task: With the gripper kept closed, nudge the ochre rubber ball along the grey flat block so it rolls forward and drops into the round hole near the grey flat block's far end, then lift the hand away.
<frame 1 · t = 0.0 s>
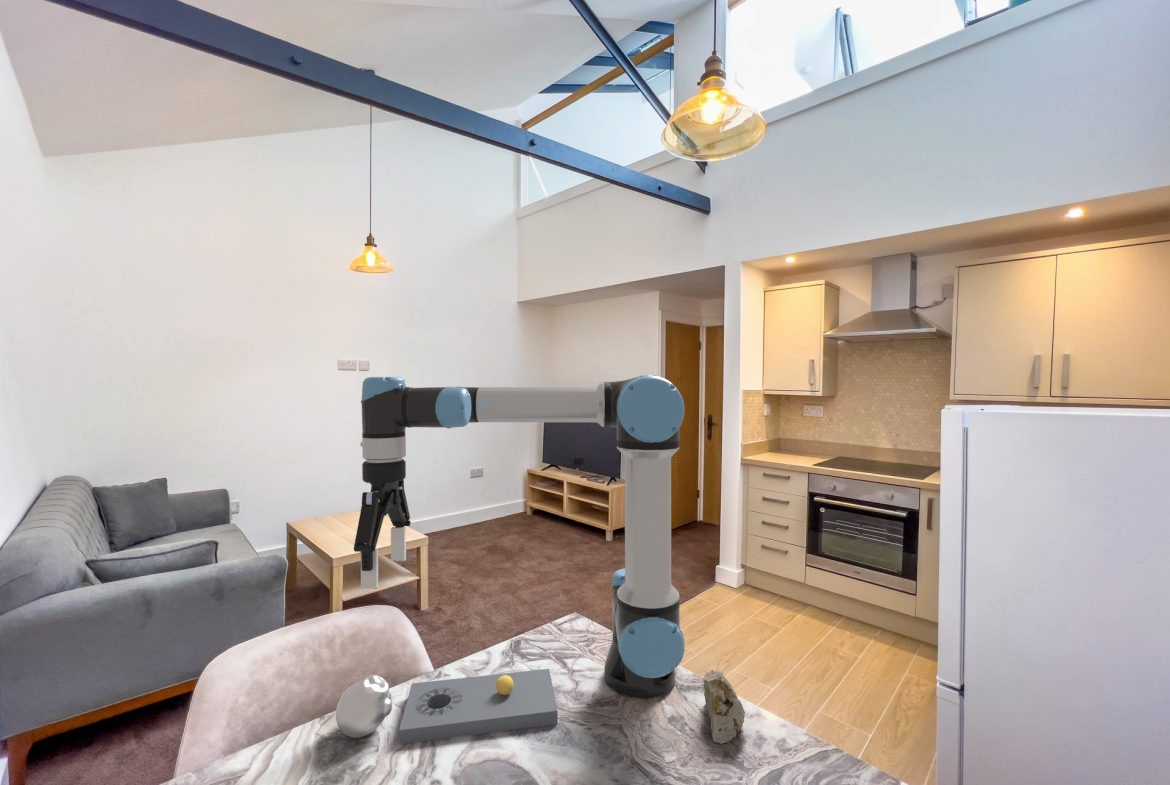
hand: (385, 573, 93), 28 cm above the table, fingers open, 13 cm apart
grey flat block: (481, 709, 97), on the table
rock: (722, 722, 93), on the table
ball: (504, 685, 97), point 4 cm above the table, touching grey flat block
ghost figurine: (365, 732, 90), on the table
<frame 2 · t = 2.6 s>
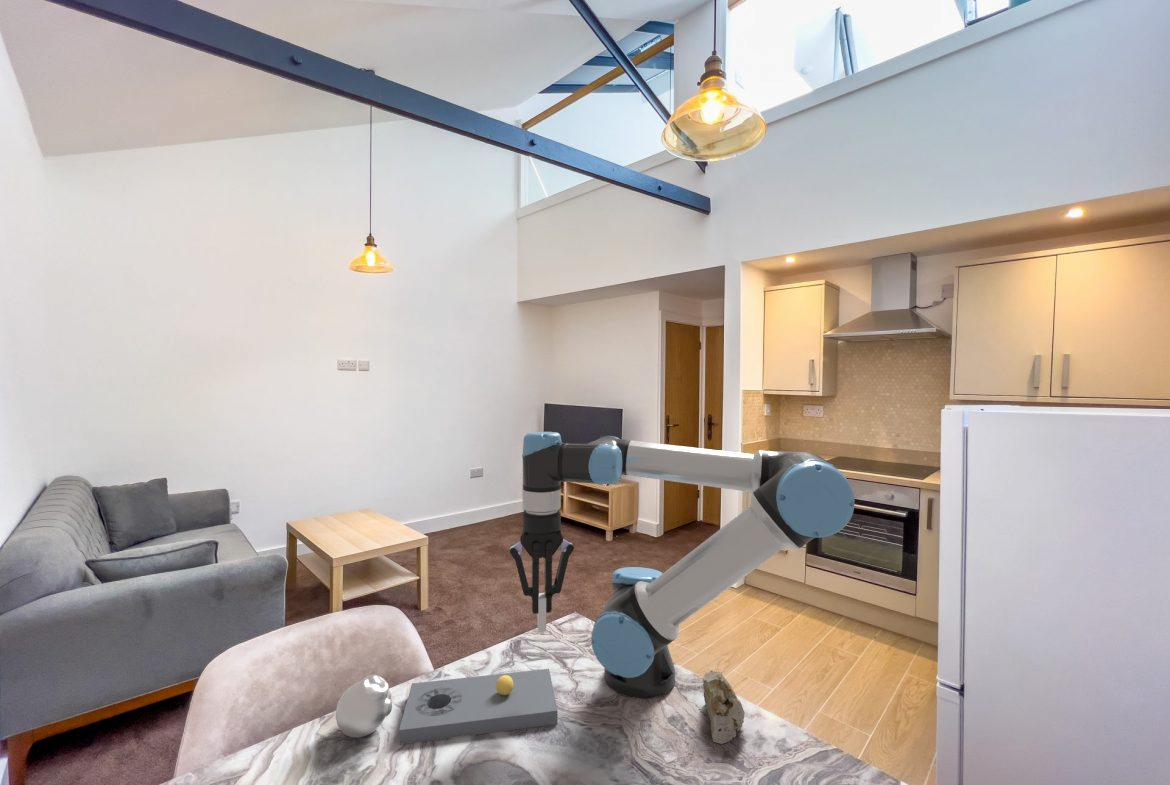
hand: (541, 628, 99), 15 cm above the table, fingers closed
nothing on the table moved.
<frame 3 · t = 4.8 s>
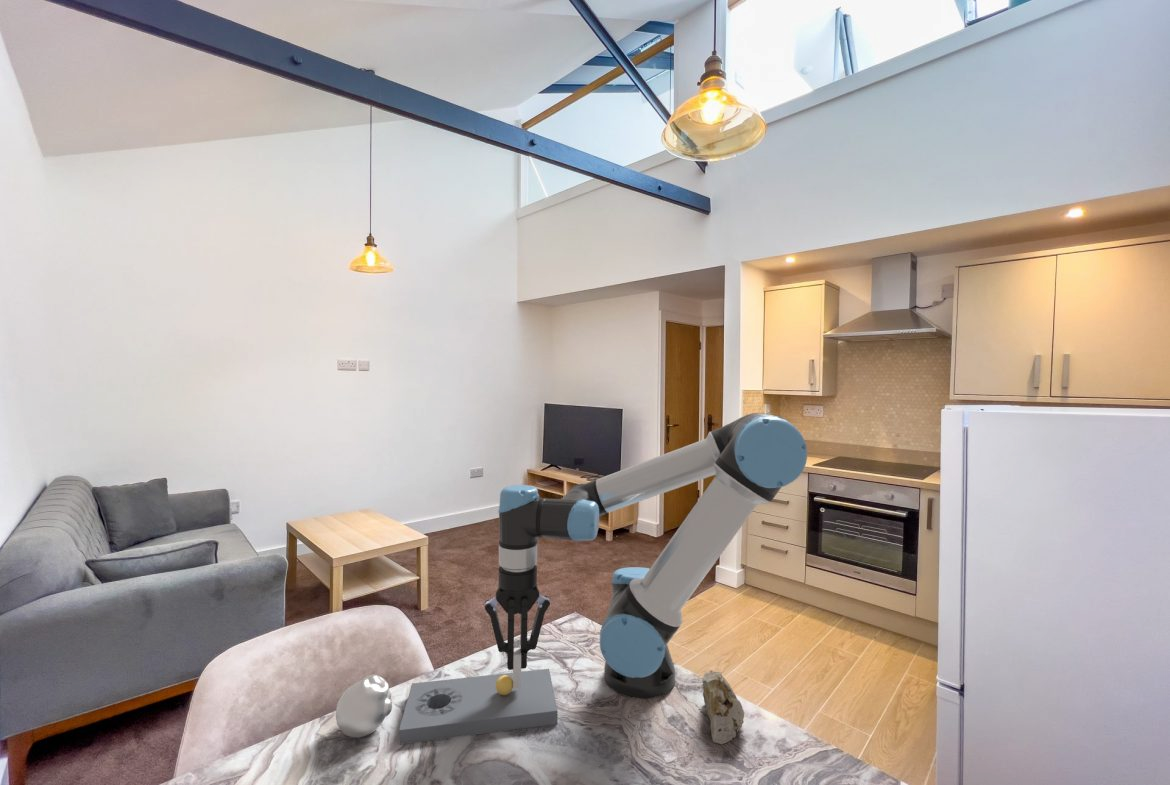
hand: (516, 684, 98), 4 cm above the table, fingers closed
ball: (504, 685, 97), point 4 cm above the table, touching gripper
everything else where it was.
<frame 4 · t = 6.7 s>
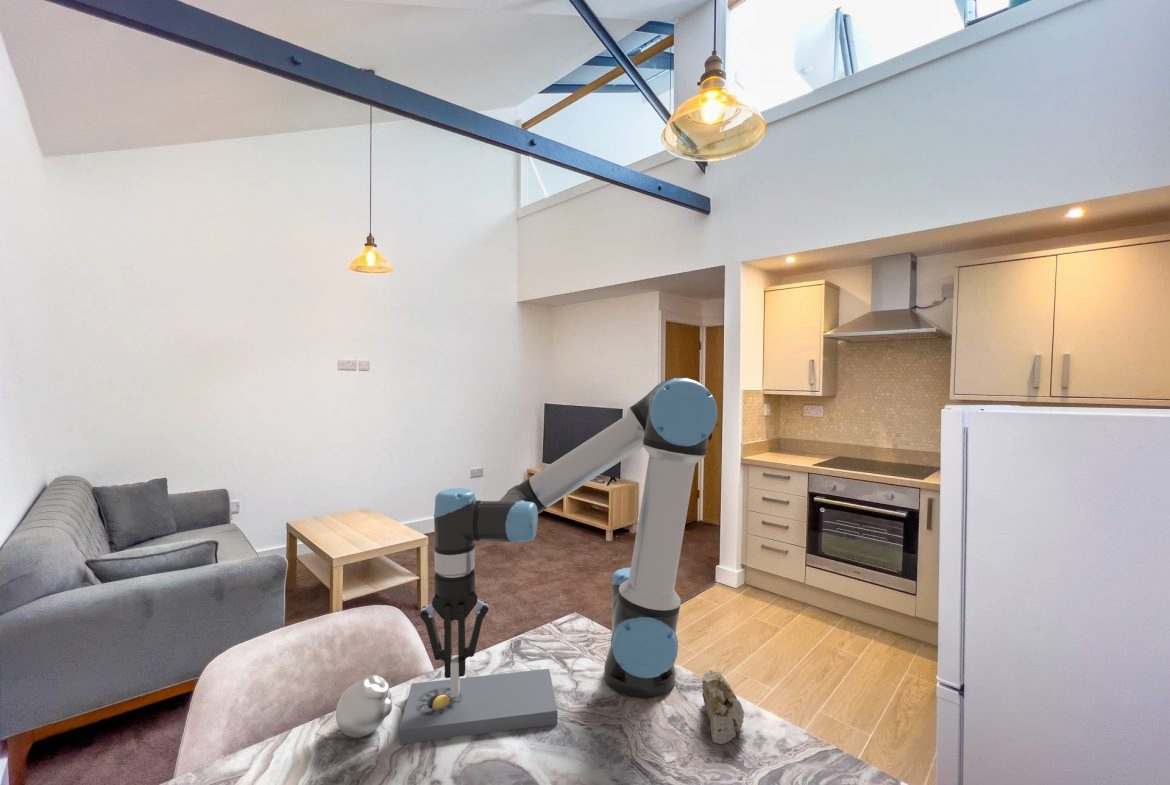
hand: (455, 692, 96), 4 cm above the table, fingers closed
ball: (441, 705, 95), point 2 cm above the table, tilted 73°
everything else where it was.
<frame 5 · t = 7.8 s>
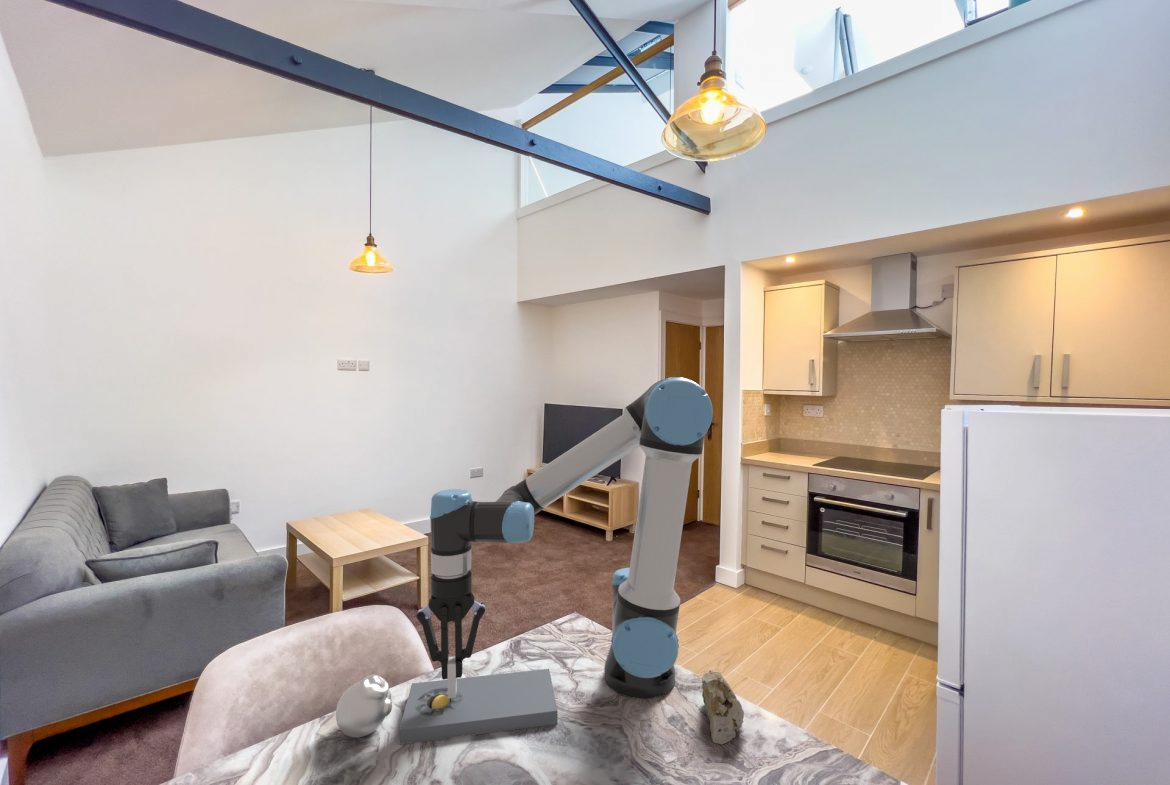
hand: (452, 693, 96), 4 cm above the table, fingers closed
nothing on the table moved.
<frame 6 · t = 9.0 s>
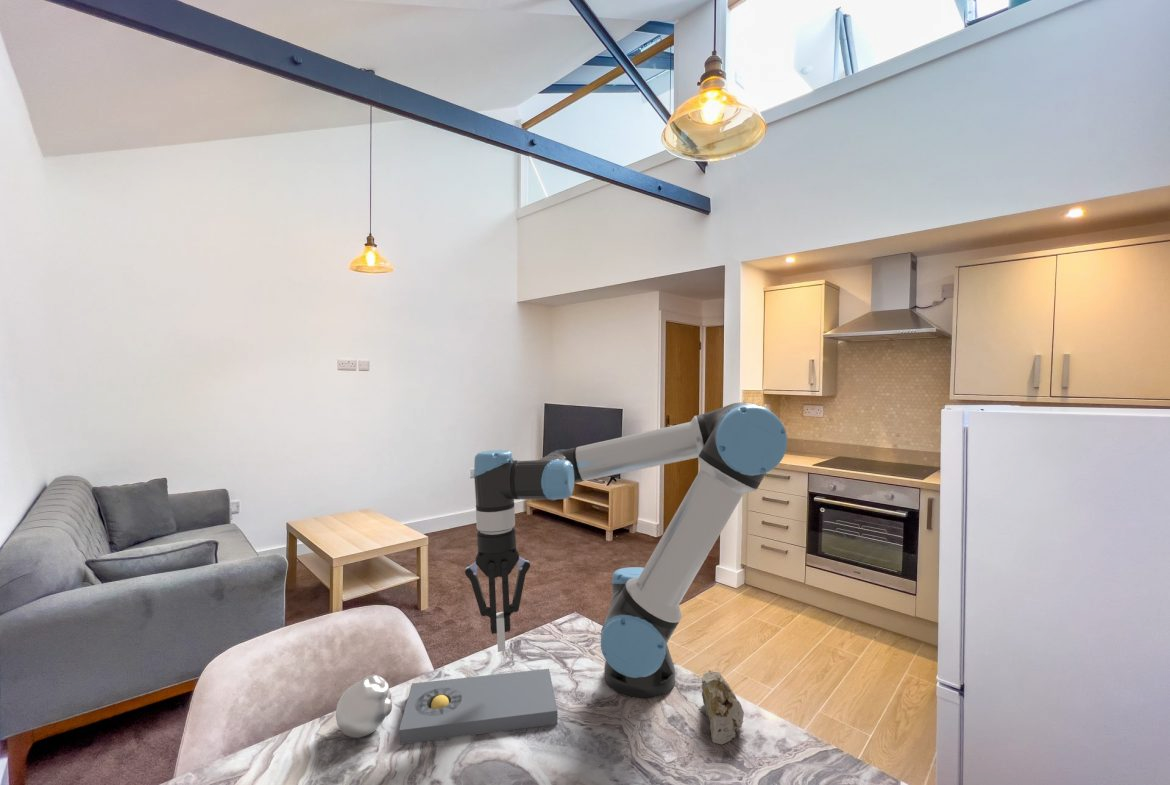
hand: (501, 647, 98), 11 cm above the table, fingers closed
nothing on the table moved.
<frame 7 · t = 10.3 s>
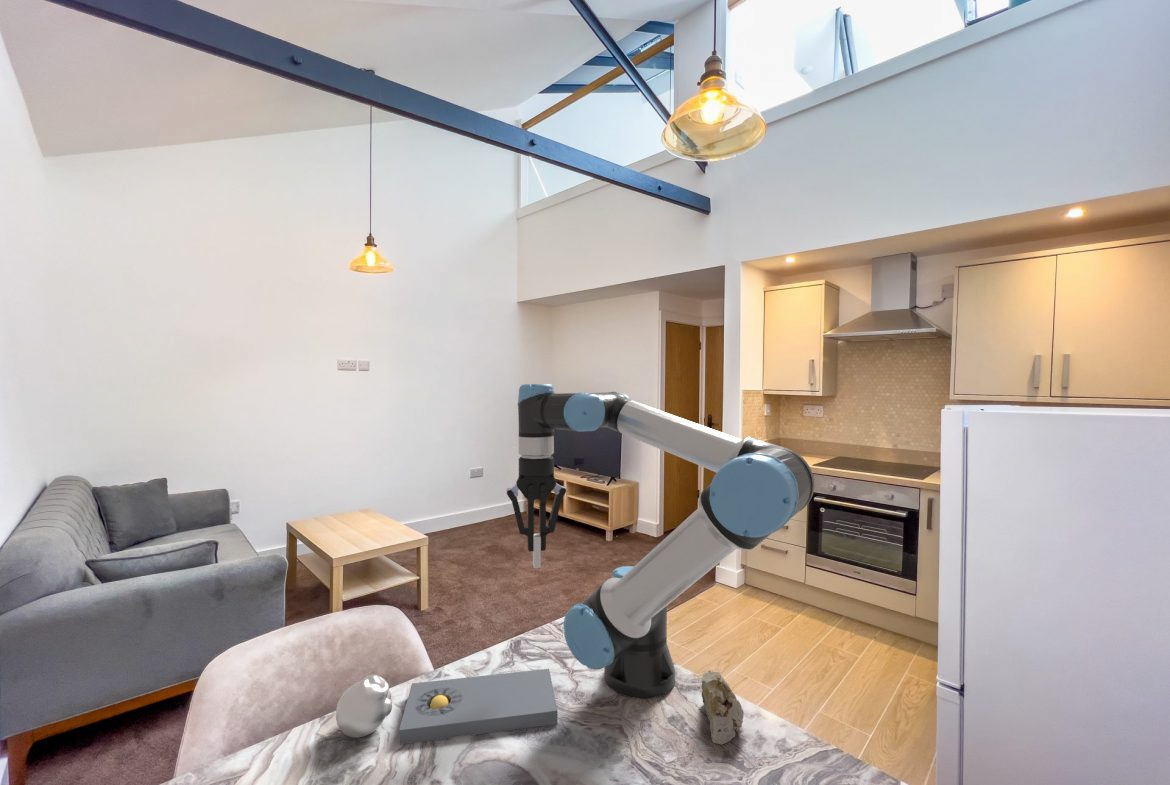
hand: (536, 565, 106), 24 cm above the table, fingers closed
ball: (439, 705, 95), point 2 cm above the table, tilted 88°
everything else where it was.
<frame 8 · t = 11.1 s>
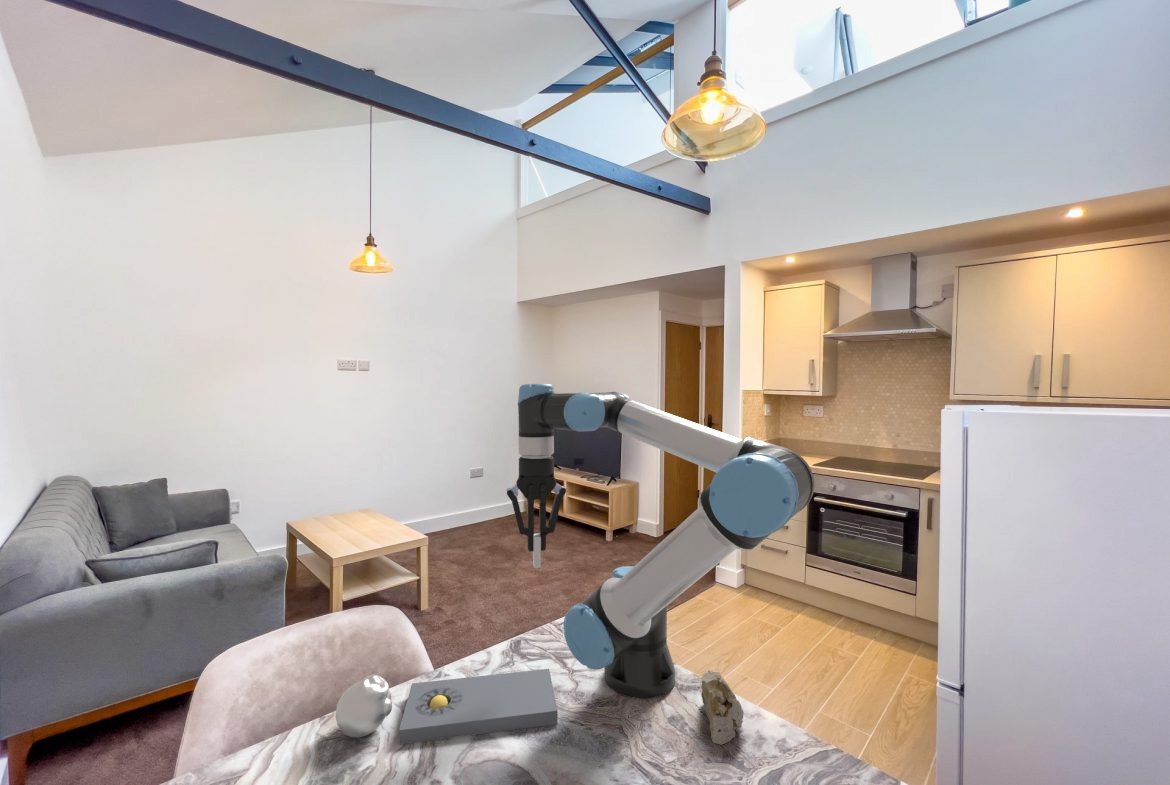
hand: (536, 565, 106), 24 cm above the table, fingers closed
nothing on the table moved.
at the end: ball 0.0 cm from the target spot in the grey flat block, point 1.7 cm above the grey flat block's base; ball touching table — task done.
